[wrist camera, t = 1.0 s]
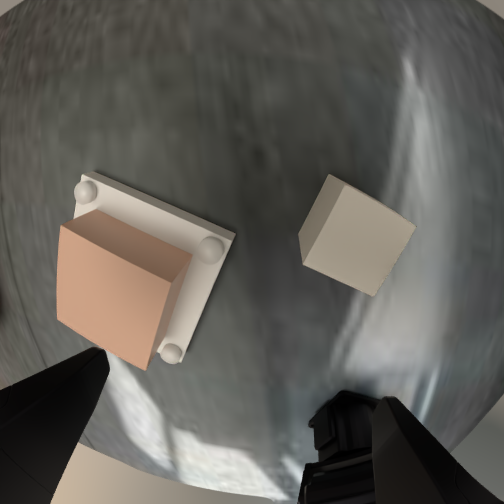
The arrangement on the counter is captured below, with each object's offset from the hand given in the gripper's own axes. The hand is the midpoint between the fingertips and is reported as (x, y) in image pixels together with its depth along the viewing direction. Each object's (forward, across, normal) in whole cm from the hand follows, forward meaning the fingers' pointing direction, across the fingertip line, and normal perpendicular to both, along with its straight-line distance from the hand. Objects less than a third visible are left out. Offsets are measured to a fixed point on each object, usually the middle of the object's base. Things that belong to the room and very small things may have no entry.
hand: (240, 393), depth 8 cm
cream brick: (+13, -5, -3) cm, 14 cm away
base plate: (+12, +10, +3) cm, 16 cm away
